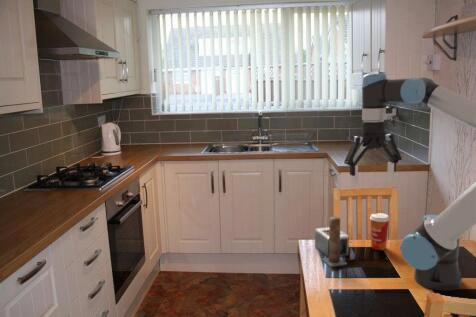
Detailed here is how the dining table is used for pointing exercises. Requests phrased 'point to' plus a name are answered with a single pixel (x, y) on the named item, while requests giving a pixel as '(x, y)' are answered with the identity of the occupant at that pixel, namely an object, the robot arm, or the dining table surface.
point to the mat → (334, 263)
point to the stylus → (334, 240)
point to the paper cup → (379, 230)
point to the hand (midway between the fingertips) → (372, 183)
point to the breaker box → (323, 242)
